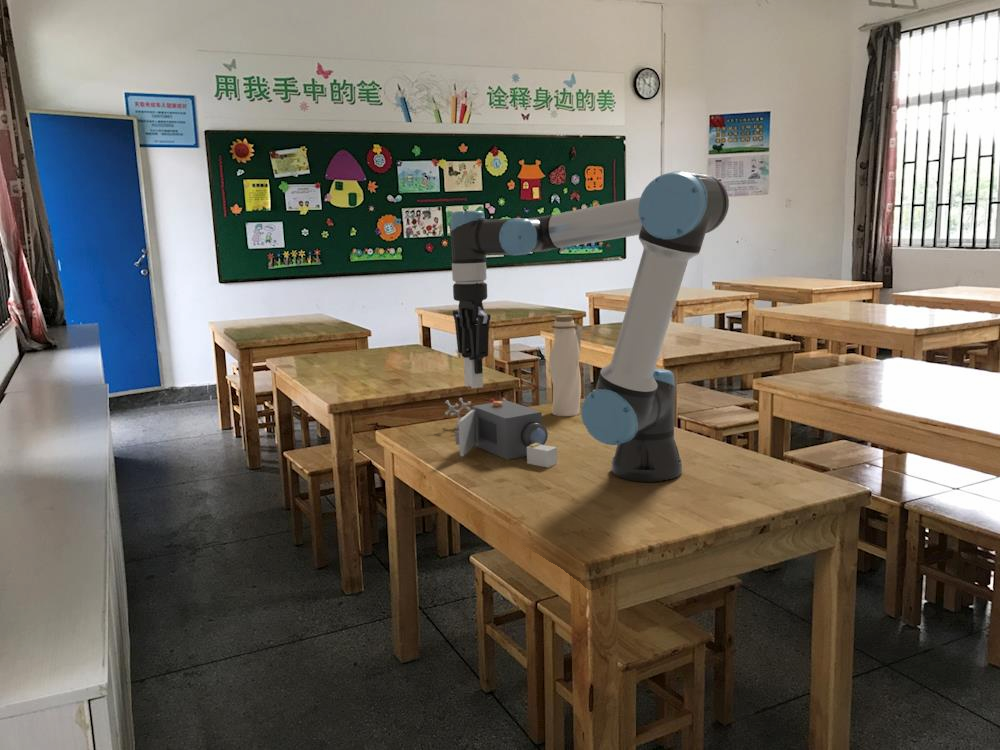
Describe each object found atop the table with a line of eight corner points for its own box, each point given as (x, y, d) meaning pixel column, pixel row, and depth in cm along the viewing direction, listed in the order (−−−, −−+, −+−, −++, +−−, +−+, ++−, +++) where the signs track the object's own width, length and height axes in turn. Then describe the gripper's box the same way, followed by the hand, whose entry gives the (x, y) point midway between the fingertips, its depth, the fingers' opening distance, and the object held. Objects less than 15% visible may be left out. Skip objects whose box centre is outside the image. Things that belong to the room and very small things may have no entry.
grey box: (549, 455, 193) (548, 410, 191) (513, 462, 188) (511, 416, 186) (507, 438, 209) (506, 396, 207) (473, 444, 204) (471, 402, 202)
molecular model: (438, 430, 221) (437, 393, 220) (468, 425, 227) (467, 390, 226) (482, 440, 206) (481, 401, 205) (513, 435, 213) (512, 397, 211)
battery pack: (557, 464, 187) (556, 445, 186) (548, 468, 184) (547, 449, 183) (536, 460, 190) (535, 441, 190) (527, 463, 188) (526, 445, 187)
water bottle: (564, 407, 241) (562, 312, 236) (589, 410, 235) (588, 314, 230) (543, 414, 233) (541, 316, 228) (569, 418, 227) (568, 318, 222)
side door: (464, 456, 191) (462, 421, 190) (455, 455, 192) (454, 420, 190) (477, 442, 202) (476, 409, 201) (469, 442, 203) (468, 409, 201)
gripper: (502, 282, 175) (505, 389, 180) (468, 279, 188) (472, 379, 193) (471, 285, 171) (476, 394, 176) (439, 281, 184) (443, 383, 189)
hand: (473, 386), depth 184 cm, fingers open, 2 cm apart
